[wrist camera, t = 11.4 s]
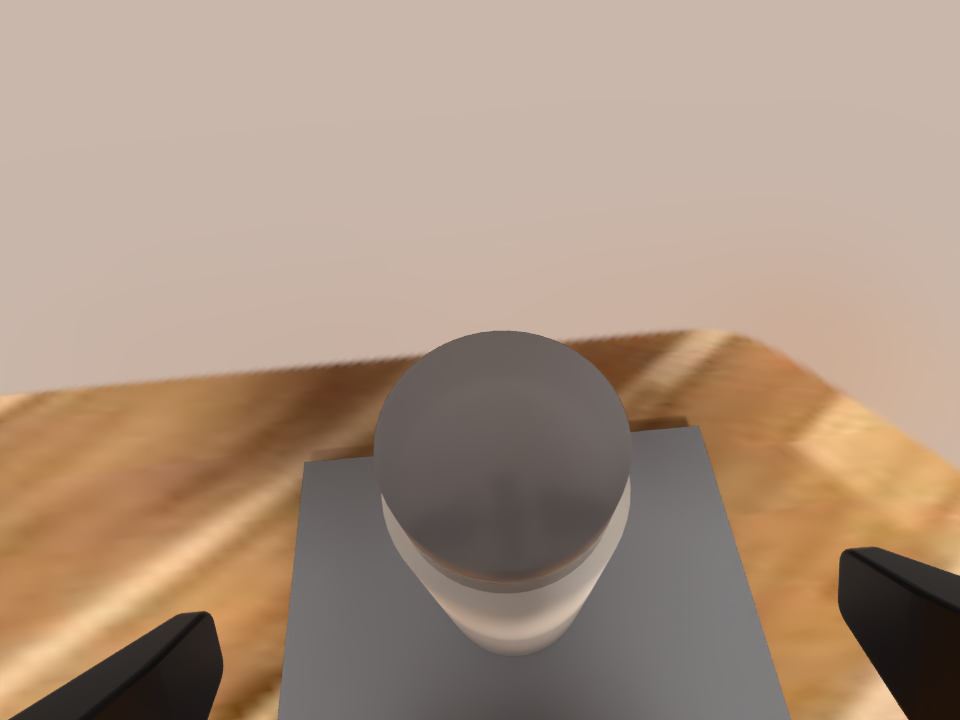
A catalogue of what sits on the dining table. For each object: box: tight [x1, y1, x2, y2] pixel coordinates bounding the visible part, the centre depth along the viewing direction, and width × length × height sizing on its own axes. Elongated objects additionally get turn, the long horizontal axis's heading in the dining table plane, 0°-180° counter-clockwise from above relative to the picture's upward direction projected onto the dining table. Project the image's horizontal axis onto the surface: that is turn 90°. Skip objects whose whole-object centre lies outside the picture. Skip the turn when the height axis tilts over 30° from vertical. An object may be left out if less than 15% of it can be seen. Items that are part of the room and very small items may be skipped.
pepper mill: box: [373, 331, 632, 656], centre depth 15 cm, size 5×5×12 cm
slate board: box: [277, 426, 791, 720], centre depth 20 cm, size 16×10×1 cm, turn 94°
